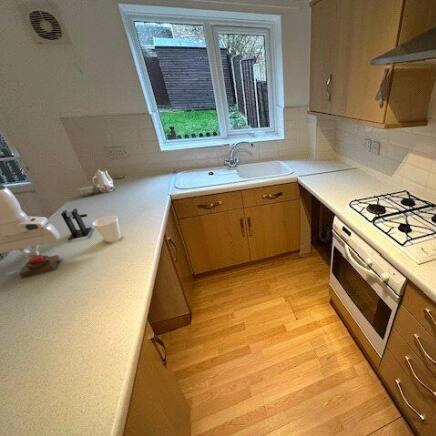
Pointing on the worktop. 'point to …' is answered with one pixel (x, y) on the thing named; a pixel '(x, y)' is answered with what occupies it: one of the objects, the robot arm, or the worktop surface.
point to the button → (36, 259)
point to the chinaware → (99, 184)
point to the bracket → (73, 230)
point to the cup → (108, 228)
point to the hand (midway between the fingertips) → (34, 255)
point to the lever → (69, 214)
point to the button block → (40, 266)
